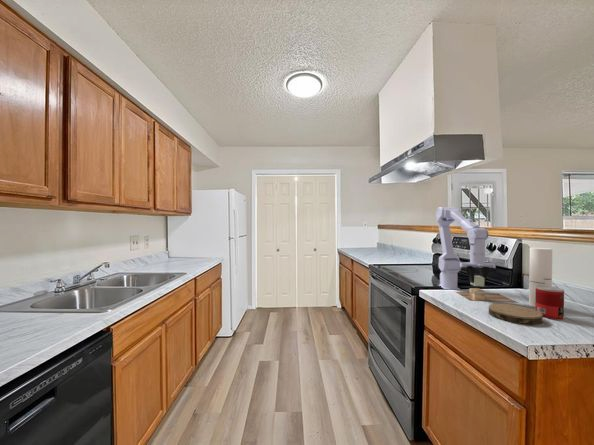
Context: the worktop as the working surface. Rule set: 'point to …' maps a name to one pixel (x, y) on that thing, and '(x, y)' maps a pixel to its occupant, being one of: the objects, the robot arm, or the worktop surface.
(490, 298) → the brown flat board
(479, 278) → the sage cube
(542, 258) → the cylindrical container
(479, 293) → the maple brick
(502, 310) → the wood slice
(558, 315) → the canned food
